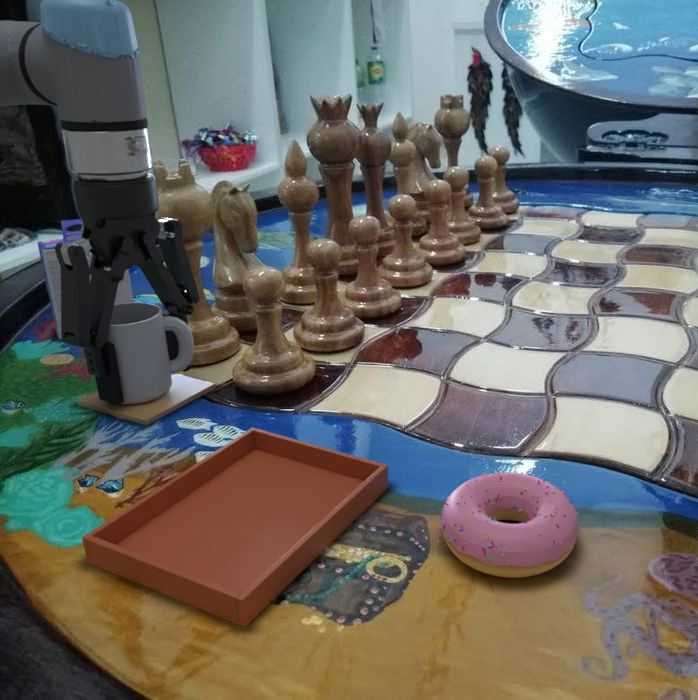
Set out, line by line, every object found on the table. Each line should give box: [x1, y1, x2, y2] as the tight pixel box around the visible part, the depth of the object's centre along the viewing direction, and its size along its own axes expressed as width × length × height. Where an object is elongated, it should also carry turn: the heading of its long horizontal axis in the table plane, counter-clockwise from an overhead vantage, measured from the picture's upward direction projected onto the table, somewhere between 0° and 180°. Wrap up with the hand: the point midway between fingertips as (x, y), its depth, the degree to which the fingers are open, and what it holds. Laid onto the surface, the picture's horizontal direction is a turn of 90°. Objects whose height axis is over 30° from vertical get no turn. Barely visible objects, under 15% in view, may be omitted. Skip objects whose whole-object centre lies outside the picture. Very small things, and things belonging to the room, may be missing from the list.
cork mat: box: [76, 373, 217, 427], centre depth 80 cm, size 10×10×1 cm
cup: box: [93, 301, 195, 404], centre depth 79 cm, size 7×10×9 cm
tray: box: [81, 427, 389, 628], centre depth 60 cm, size 15×19×2 cm
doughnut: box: [438, 470, 580, 579], centre depth 58 cm, size 11×11×4 cm
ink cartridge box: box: [37, 218, 135, 340], centre depth 96 cm, size 10×6×14 cm, turn 124°
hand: (146, 383), depth 80 cm, fingers closed on cup, 9 cm apart
